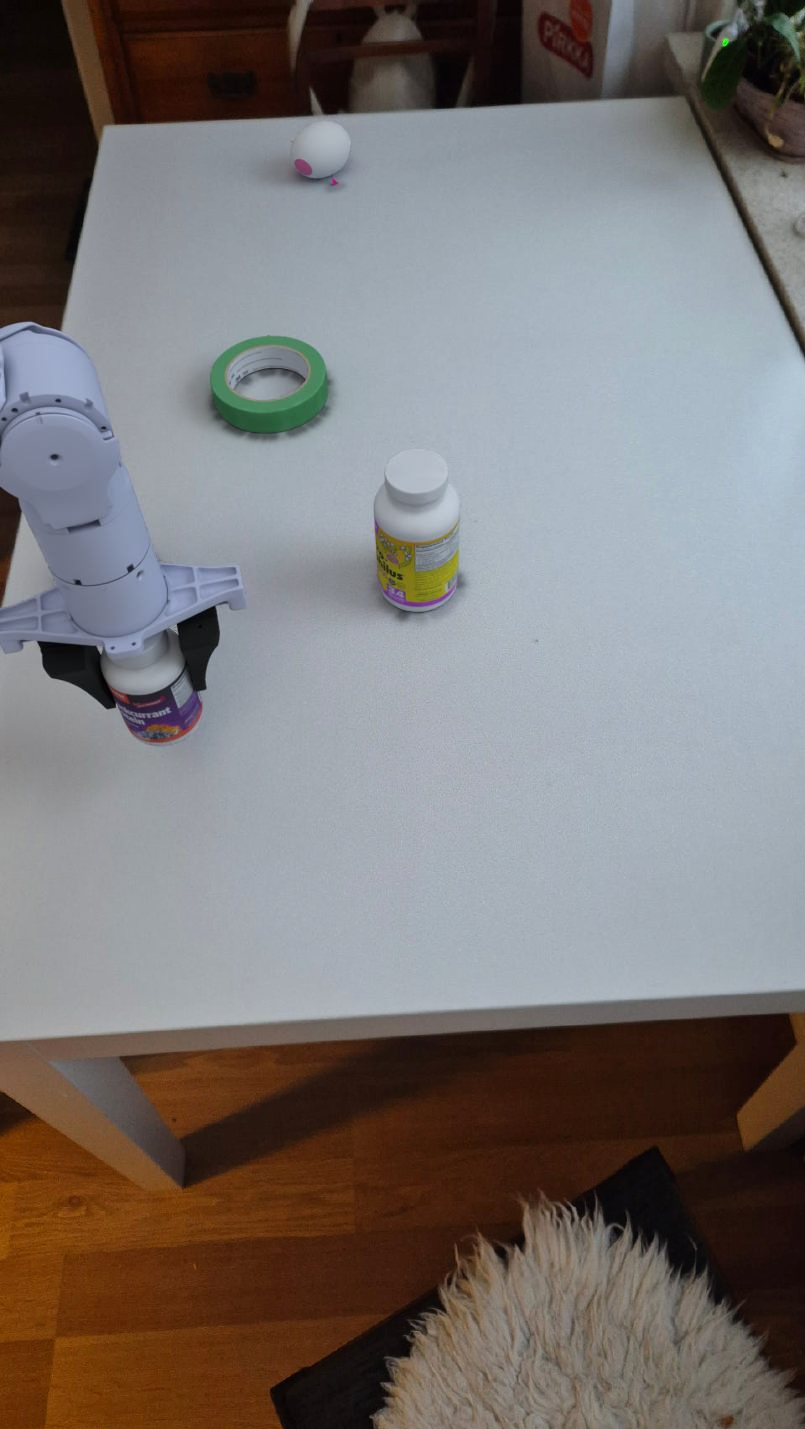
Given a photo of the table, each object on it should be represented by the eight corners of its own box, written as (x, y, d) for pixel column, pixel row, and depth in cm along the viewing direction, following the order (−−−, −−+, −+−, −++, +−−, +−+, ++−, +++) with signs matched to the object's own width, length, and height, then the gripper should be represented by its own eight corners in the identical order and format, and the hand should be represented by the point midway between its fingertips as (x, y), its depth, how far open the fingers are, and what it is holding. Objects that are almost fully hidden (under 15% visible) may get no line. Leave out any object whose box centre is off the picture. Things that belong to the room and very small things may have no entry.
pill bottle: (114, 740, 69) (71, 655, 61) (144, 677, 72) (107, 588, 63) (188, 756, 68) (155, 672, 60) (216, 692, 71) (188, 603, 63)
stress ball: (339, 184, 124) (319, 126, 121) (371, 169, 117) (350, 106, 115) (289, 204, 121) (266, 145, 119) (318, 189, 115) (295, 126, 112)
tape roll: (302, 443, 94) (299, 421, 92) (195, 420, 96) (190, 397, 94) (344, 370, 100) (342, 347, 97) (242, 349, 102) (238, 326, 100)
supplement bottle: (367, 568, 85) (358, 451, 75) (440, 546, 87) (441, 428, 76) (394, 625, 82) (389, 512, 71) (470, 602, 83) (475, 487, 72)
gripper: (-38, 627, 53) (45, 760, 64) (238, 576, 54) (271, 715, 65) (-36, 531, 56) (42, 672, 68) (221, 485, 58) (255, 631, 69)
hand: (154, 687), depth 67 cm, fingers closed on pill bottle, 5 cm apart
